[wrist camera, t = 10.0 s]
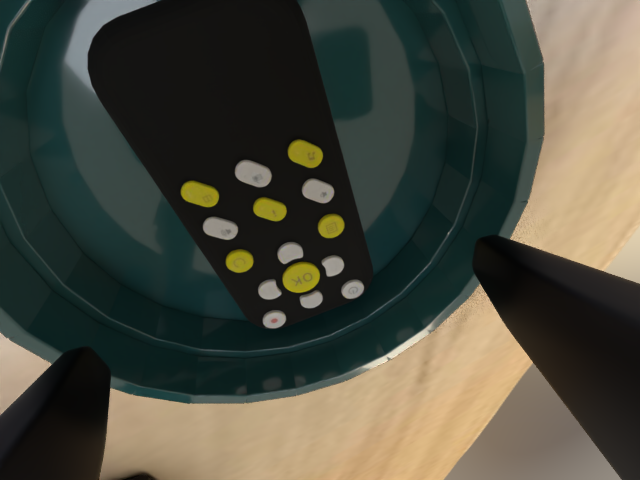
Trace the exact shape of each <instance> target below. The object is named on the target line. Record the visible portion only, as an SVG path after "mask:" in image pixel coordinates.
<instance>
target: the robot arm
mask: <svg viewBox="0 0 640 480" xmlns="http://www.w3.org/2000/svg"><path fill="white" fill-rule="evenodd" d="M472 268H473V271H474V274H475V276H476V277H477V279H478V281H479V282H480V284H481V286H482V287H483V289H484V291H485V292H486V294H487V296H488V297H489V299H490V301H491V302H492V304H493V306H494V307H495V309H496V311H497V312H498V314H499V316H500V317H501V319H502V320H503V322H504V323H505V325H506V327H507V328H508V329H509V331H510V332H511V334H512V335H513V336H514V338H515V339H516V340H517V342H518V343H519V344H520V346H521V347H522V348H523V349H524V351H525V352H526V353H527V355H528V356H529V357H530V359H531V360H532V361H533V363H534V364H535V365H536V367H537V368H538V369H539V371H540V372H541V373H542V375H543V376H544V377H545V379H546V380H547V381H548V382H549V384H550V385H551V387H552V388H553V389H554V391H555V392H556V393H557V395H558V396H559V397H560V398H561V400H562V401H563V402H564V404H565V405H566V406H567V408H568V409H569V410H570V412H571V413H572V414H573V416H574V417H575V418H576V420H577V421H578V422H579V424H580V425H581V426H582V428H583V429H584V430H585V432H586V433H587V434H588V435H589V437H590V438H591V440H592V441H593V442H594V443H595V445H596V446H597V447H598V449H599V450H600V452H601V453H602V454H603V455H604V457H605V458H606V459H607V461H608V462H609V463H610V465H611V466H612V467H613V469H614V470H615V471H616V473H617V474H618V475H619V477H620V478H621V479H622V480H640V284H639V283H636V282H633V281H630V280H627V279H624V278H621V277H618V276H615V275H612V274H609V273H606V272H604V271H601V270H598V269H595V268H592V267H589V266H586V265H583V264H580V263H577V262H574V261H571V260H569V259H566V258H563V257H560V256H557V255H554V254H551V253H548V252H545V251H542V250H539V249H536V248H534V247H531V246H528V245H525V244H522V243H519V242H516V241H513V240H510V239H507V238H504V237H502V236H499V235H494V234H493V235H488V236H485V237H481V238H479V239H477V241H476V242H475V248H474V255H473V261H472ZM110 384H111V372H110V369H109V367H108V365H107V364H106V363H105V362H104V361H103V360H102V359H101V358H100V357H99V355H98V354H97V353H96V352H95V351H94V350H93V349H92V348H91V347H88V346H82V347H78V348H75V349H71V350H68V351H66V352H64V353H63V354H62V355H61V356H60V357H59V358H58V359H57V360H56V361H55V362H54V363H53V364H52V365H51V366H50V367H49V368H48V369H47V370H46V371H45V372H44V373H43V374H42V375H41V376H40V377H39V378H38V379H37V380H36V381H35V382H34V383H33V384H32V385H31V386H30V387H29V388H28V389H27V390H26V391H25V392H24V393H23V394H22V395H21V396H20V397H19V398H18V399H17V400H16V401H14V402H13V403H12V404H11V405H10V406H9V407H8V408H7V409H6V410H5V411H4V412H3V413H2V414H1V415H0V480H99V477H100V472H101V466H102V461H103V455H104V449H105V442H106V433H107V421H108V409H109V397H110ZM127 480H153V479H151V478H150V477H149V476H147V475H141V476H137V477H134V478H131V479H127Z"/></svg>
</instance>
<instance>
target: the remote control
mask: <svg viewBox="0 0 640 480" xmlns="http://www.w3.org/2000/svg"><path fill="white" fill-rule="evenodd" d="M87 69H88V73H89V77H90V81H91V85H92V87H93V89H94V91H95V93H96V95H97V97H98V98H99V100H100V102H101V103H102V105H103V106H104V108H105V109H106V111H107V112H108V114H109V115H110V117H111V118H112V120H113V121H114V123H115V124H116V126H117V127H118V129H119V130H120V132H121V133H122V135H123V136H124V137H125V139H126V140H127V142H128V143H129V145H130V146H131V148H132V149H133V151H134V152H135V154H136V155H137V157H138V158H139V160H140V161H141V163H142V164H143V166H144V167H145V169H146V170H147V172H148V173H149V175H150V176H151V177H152V179H153V180H154V182H155V183H156V185H157V186H158V188H159V189H160V191H161V192H162V194H163V195H164V197H165V198H166V200H167V201H168V203H169V204H170V206H171V207H172V209H173V210H174V212H175V213H176V215H177V216H178V217H179V219H180V220H181V222H182V223H183V225H184V226H185V228H186V229H187V231H188V232H189V234H190V235H191V237H192V238H193V240H194V241H195V243H196V244H197V246H198V247H199V249H200V250H201V252H202V253H203V255H204V256H205V257H206V259H207V260H208V262H209V263H210V265H211V266H212V268H213V269H214V271H215V272H216V274H217V275H218V277H219V278H220V280H221V281H222V283H223V284H224V286H225V287H226V289H227V290H228V292H229V293H230V295H231V296H232V298H233V299H234V300H235V302H236V303H237V305H238V306H239V308H240V309H241V311H242V312H243V314H244V315H245V317H246V318H247V319H248V320H249V321H250V322H251V323H253V324H255V325H256V326H258V327H262V328H265V329H278V328H283V327H287V326H290V325H292V324H295V323H297V322H300V321H303V320H305V319H308V318H310V317H313V316H316V315H318V314H321V313H323V312H326V311H329V310H331V309H334V308H336V307H339V306H342V305H344V304H347V303H349V302H351V301H353V300H355V299H357V298H359V297H360V296H361V295H363V294H364V292H365V291H366V290H367V289H368V287H369V285H370V284H371V282H372V278H373V265H372V261H371V258H370V254H369V250H368V246H367V243H366V239H365V235H364V232H363V228H362V224H361V221H360V217H359V213H358V210H357V206H356V202H355V198H354V195H353V191H352V187H351V184H350V180H349V176H348V173H347V169H346V165H345V162H344V158H343V154H342V150H341V147H340V143H339V139H338V136H337V132H336V128H335V125H334V121H333V117H332V114H331V110H330V106H329V102H328V99H327V95H326V91H325V88H324V84H323V80H322V77H321V73H320V69H319V66H318V62H317V58H316V54H315V51H314V47H313V43H312V40H311V36H310V32H309V29H308V25H307V22H306V19H305V16H304V14H303V11H302V9H301V6H300V5H299V3H298V2H297V1H296V0H161V1H158V2H155V3H153V4H150V5H147V6H145V7H142V8H139V9H137V10H134V11H131V12H129V13H126V14H124V15H121V16H118V17H116V18H114V19H113V20H111V21H109V22H108V23H106V24H104V25H103V26H102V27H101V28H100V30H99V31H98V32H97V33H96V35H95V36H94V37H93V39H92V42H91V45H90V48H89V51H88V65H87Z"/></svg>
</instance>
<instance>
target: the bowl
mask: <svg viewBox="0 0 640 480" xmlns="http://www.w3.org/2000/svg"><path fill="white" fill-rule="evenodd" d="M158 1H161V0H0V333H1V334H2V335H4V336H5V337H6V338H9V340H10V341H12V342H14V343H16V344H17V345H19V346H21V347H23V348H25V349H26V350H28V351H30V352H32V353H33V354H35V355H37V356H39V357H41V358H42V359H44V360H46V361H48V362H50V363H51V364H53V363H54V362H55V361H56V360H57V359H58V358H59V357H60V356H61V355H62V354H63V353H64V352H66V351H68V350H71V349H75V348H78V347H82V346H88V347H91V348H92V349H93V350H94V351H95V352H96V353H97V354H98V355H99V357H100V358H101V359H102V360H103V361H104V362H105V363H106V364H107V365H108V367H109V369H110V372H111V384H110V388H113V389H116V390H119V391H122V392H125V393H128V394H133V395H136V396H143V397H149V398H156V399H162V400H169V401H175V402H182V403H188V404H190V403H192V404H244V403H253V402H259V401H266V400H273V399H279V398H286V397H293V396H296V395H302V394H305V393H308V392H312V391H315V390H318V389H322V388H325V387H328V386H331V385H335V384H338V383H341V382H344V381H347V380H349V379H351V378H353V377H355V376H358V375H360V374H362V373H364V372H366V371H368V370H370V369H373V368H375V367H377V366H379V365H381V364H383V363H385V362H387V361H389V359H390V360H391V359H393V358H394V357H396V356H397V355H399V354H400V353H402V352H403V351H405V350H406V349H408V348H409V347H411V346H412V345H414V344H415V343H417V342H418V341H420V340H421V339H423V338H424V337H426V336H427V335H429V334H430V333H431V332H433V331H434V330H435V329H436V328H437V327H438V326H439V325H440V324H442V323H443V322H444V321H445V320H446V319H447V318H448V317H449V316H450V315H451V314H452V313H453V312H454V311H455V310H457V309H458V308H459V307H460V306H461V305H462V304H463V303H464V302H465V301H466V300H467V299H468V298H469V297H470V296H471V295H472V293H473V292H474V291H475V290H476V288H477V287H478V286H479V284H480V282H479V281H478V279H477V277H476V276H475V274H474V271H473V268H472V261H473V255H474V248H475V242H476V241H477V239H479V238H481V237H485V236H488V235H493V234H494V235H499V236H502V237H504V238H507V239H510V238H511V236H512V234H513V232H514V230H515V227H516V225H517V223H518V221H519V219H520V217H521V215H522V213H523V211H524V209H525V207H526V205H527V203H528V200H529V197H530V193H531V189H532V185H533V181H534V177H535V173H536V169H537V165H538V160H539V156H540V152H541V148H542V144H543V140H544V137H543V136H544V135H545V132H544V62H542V61H543V57H542V53H541V50H540V46H539V43H538V39H537V36H536V33H535V29H534V26H533V22H532V19H531V15H530V12H529V9H528V5H527V2H526V0H296V1H297V2H298V3H299V5H300V6H301V9H302V11H303V14H304V16H305V19H306V22H307V25H308V29H309V32H310V36H311V40H312V43H313V47H314V51H315V54H316V58H317V62H318V66H319V69H320V73H321V77H322V80H323V84H324V88H325V91H326V95H327V99H328V102H329V106H330V110H331V114H332V117H333V121H334V125H335V128H336V132H337V136H338V139H339V143H340V147H341V150H342V154H343V158H344V162H345V165H346V169H347V173H348V176H349V180H350V184H351V187H352V191H353V195H354V198H355V202H356V206H357V210H358V213H359V217H360V221H361V224H362V228H363V232H364V235H365V239H366V243H367V246H368V250H369V254H370V258H371V261H372V265H373V278H372V282H371V284H370V285H369V287H368V289H367V290H366V291H365V292H364V294H363V295H361V296H360V297H359V298H357V299H355V300H353V301H351V302H349V303H347V304H344V305H342V306H339V307H336V308H334V309H331V310H329V311H326V312H323V313H321V314H318V315H316V316H313V317H310V318H308V319H305V320H303V321H300V322H297V323H295V324H292V325H290V326H287V327H283V328H278V329H265V328H262V327H258V326H256V325H255V324H253V323H251V322H250V321H249V320H248V319H247V318H246V317H245V315H244V314H243V312H242V311H241V309H240V308H239V306H238V305H237V303H236V302H235V300H234V299H233V298H232V296H231V295H230V293H229V292H228V290H227V289H226V287H225V286H224V284H223V283H222V281H221V280H220V278H219V277H218V275H217V274H216V272H215V271H214V269H213V268H212V266H211V265H210V263H209V262H208V260H207V259H206V257H205V256H204V255H203V253H202V252H201V250H200V249H199V247H198V246H197V244H196V243H195V241H194V240H193V238H192V237H191V235H190V234H189V232H188V231H187V229H186V228H185V226H184V225H183V223H182V222H181V220H180V219H179V217H178V216H177V215H176V213H175V212H174V210H173V209H172V207H171V206H170V204H169V203H168V201H167V200H166V198H165V197H164V195H163V194H162V192H161V191H160V189H159V188H158V186H157V185H156V183H155V182H154V180H153V179H152V177H151V176H150V175H149V173H148V172H147V170H146V169H145V167H144V166H143V164H142V163H141V161H140V160H139V158H138V157H137V155H136V154H135V152H134V151H133V149H132V148H131V146H130V145H129V143H128V142H127V140H126V139H125V137H124V136H123V135H122V133H121V132H120V130H119V129H118V127H117V126H116V124H115V123H114V121H113V120H112V118H111V117H110V115H109V114H108V112H107V111H106V109H105V108H104V106H103V105H102V103H101V102H100V100H99V98H98V97H97V95H96V93H95V91H94V89H93V87H92V85H91V81H90V77H89V73H88V69H87V65H88V51H89V48H90V45H91V42H92V39H93V37H94V36H95V35H96V33H97V32H98V31H99V30H100V28H101V27H102V26H103V25H104V24H106V23H108V22H109V21H111V20H113V19H114V18H116V17H118V16H121V15H124V14H126V13H129V12H131V11H134V10H137V9H139V8H142V7H145V6H147V5H150V4H153V3H155V2H158Z"/></svg>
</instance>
